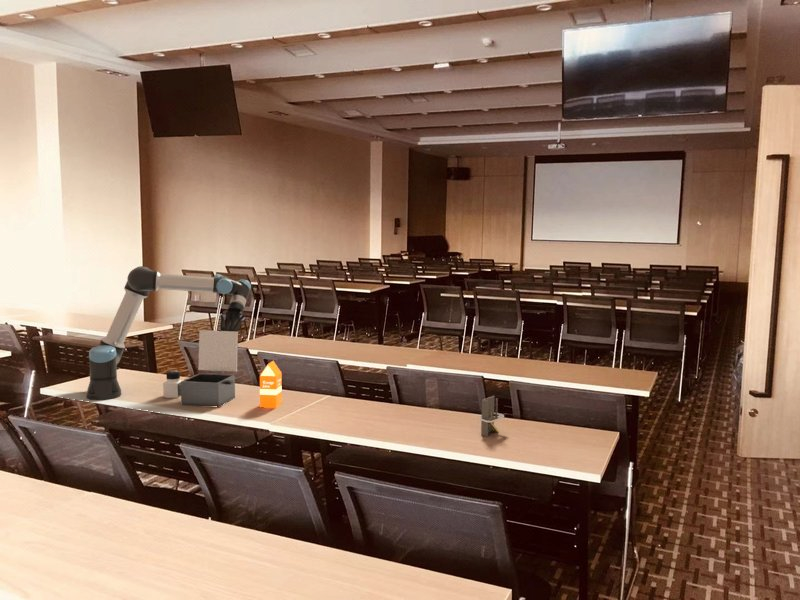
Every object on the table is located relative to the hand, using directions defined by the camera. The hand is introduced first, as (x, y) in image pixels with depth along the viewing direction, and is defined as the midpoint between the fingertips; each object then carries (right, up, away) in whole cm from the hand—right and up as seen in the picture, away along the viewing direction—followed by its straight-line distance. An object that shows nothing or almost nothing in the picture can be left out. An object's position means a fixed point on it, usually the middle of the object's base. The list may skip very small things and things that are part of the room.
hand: (223, 343), depth 310 cm
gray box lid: (-1, -4, -6) cm, 7 cm away
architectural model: (+122, -32, -58) cm, 139 cm away
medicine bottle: (-23, -25, -4) cm, 34 cm away
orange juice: (+27, -27, -19) cm, 43 cm away
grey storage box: (-3, -26, -14) cm, 30 cm away
